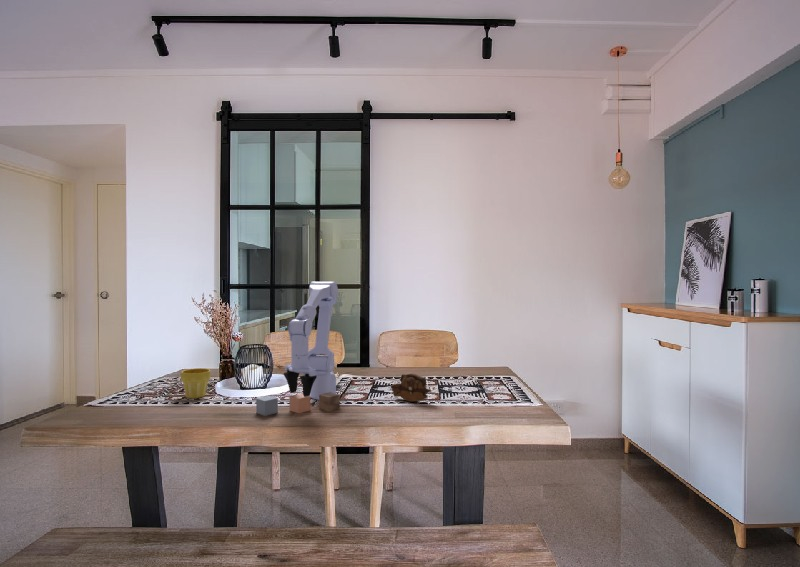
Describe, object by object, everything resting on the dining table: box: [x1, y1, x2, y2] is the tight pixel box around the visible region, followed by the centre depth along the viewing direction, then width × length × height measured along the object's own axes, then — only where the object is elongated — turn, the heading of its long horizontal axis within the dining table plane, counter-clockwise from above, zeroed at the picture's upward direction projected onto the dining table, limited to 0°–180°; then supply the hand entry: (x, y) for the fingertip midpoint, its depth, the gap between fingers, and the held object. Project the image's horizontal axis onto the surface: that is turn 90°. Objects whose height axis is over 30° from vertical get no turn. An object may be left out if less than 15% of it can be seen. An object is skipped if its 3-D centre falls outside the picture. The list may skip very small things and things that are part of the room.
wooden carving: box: [390, 373, 432, 402], centre depth 168 cm, size 16×5×10 cm, turn 62°
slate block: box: [255, 395, 279, 417], centre depth 153 cm, size 5×5×5 cm
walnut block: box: [318, 392, 341, 413], centre depth 158 cm, size 5×5×5 cm
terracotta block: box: [289, 392, 311, 414], centre depth 156 cm, size 5×5×5 cm
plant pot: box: [180, 367, 211, 399], centre depth 174 cm, size 10×10×10 cm
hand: (299, 394), depth 156 cm, fingers open, 7 cm apart
